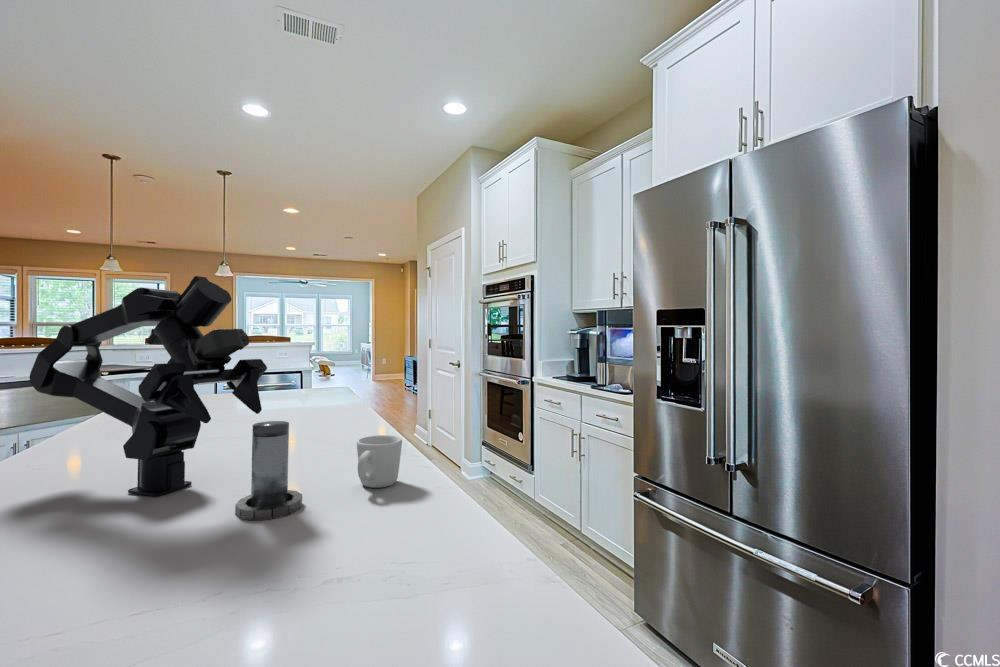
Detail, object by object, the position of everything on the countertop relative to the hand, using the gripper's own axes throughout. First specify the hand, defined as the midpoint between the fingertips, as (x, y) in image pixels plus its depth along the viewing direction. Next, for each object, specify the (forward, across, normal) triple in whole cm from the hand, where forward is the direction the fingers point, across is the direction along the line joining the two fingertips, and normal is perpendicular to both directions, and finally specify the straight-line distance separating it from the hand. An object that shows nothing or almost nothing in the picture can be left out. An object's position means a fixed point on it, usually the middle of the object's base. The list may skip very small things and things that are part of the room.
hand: (235, 416), depth 73 cm
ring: (+15, 0, +4) cm, 16 cm away
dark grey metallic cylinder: (+15, 0, +4) cm, 16 cm away
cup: (+21, +15, -2) cm, 26 cm away
